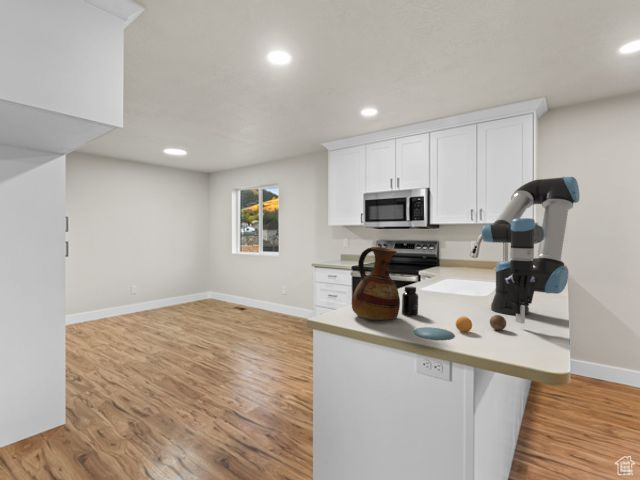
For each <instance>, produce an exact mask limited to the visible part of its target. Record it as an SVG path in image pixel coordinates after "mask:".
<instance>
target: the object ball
mask: <svg viewBox="0 0 640 480" xmlns="http://www.w3.org/2000/svg"><path fill="white" fill-rule="evenodd" d="M455 327H456V329H457V330H458V331H459V332H462V333H468V332H470V331H471V330H472V328H473V322H472V320H471V319H470V318H468V317H466V316H460V317H458V318H456V321H455Z"/></svg>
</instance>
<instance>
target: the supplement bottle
mask: <svg viewBox="0 0 640 480" xmlns="http://www.w3.org/2000/svg"><path fill="white" fill-rule="evenodd" d="M403 291H404V292H403V293H402V294H401V314H402V315H403V316H408V317H416V316H418V314H419V295H418V293H417V287H416V286H410V285H409V286H404V290H403Z"/></svg>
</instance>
